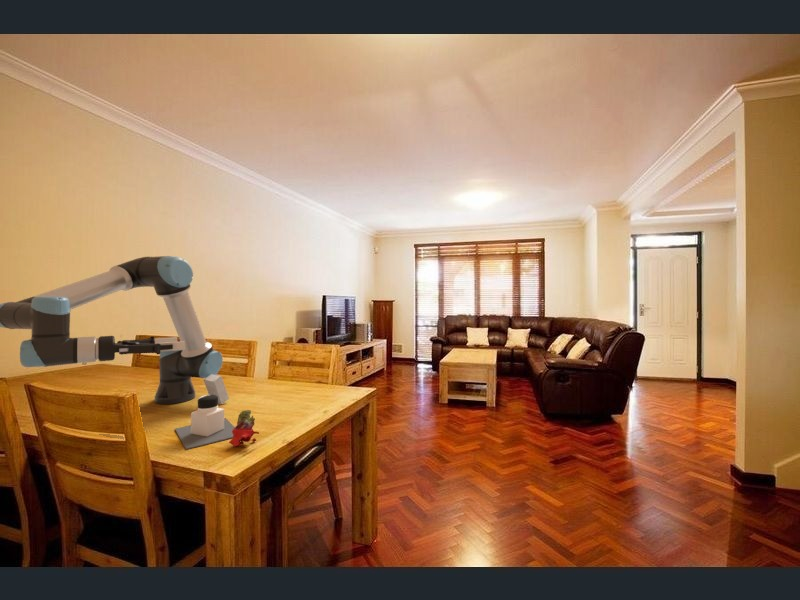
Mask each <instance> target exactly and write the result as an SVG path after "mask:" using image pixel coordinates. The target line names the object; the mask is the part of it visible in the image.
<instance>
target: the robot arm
mask: <svg viewBox="0 0 800 600" xmlns="http://www.w3.org/2000/svg"><path fill="white" fill-rule="evenodd" d="M193 277H194V272H193V268H192V266H191V265H190V263H189V262H188V261H187V260H185V259H183V258H182V257H179V256H173V255H164V256H142V257H138V258H135V259H132V260H129V261H125V262H122V263H121V264H117V265H113V266H112V267H111V268H109V270H108V271H105V272H102V273H100V274H97V275H94V276H90V277H88V278H84V279H81V280H78V281H75V282H72V283H70V284H66V285H63V286H60V287H58V288H55V289H52V290H49V291H46V292H43V293H40V294H37V295H34V296H32V297H27V298H24V299H21V300H19V301H15V302H14V301H7V302H2V303H0V328H4V329H9V330H31V338H30V339H26V340H23V341H22V342H21V343H20V347H19V350H20V351H19V361H20V364H21V366H22V367H24V368H35V367H36V368H38V367H39V368H40V367H44V368H45V367H46V368H47V367H53V366H55V367H56V366H63V365H73V364H82V365H83V366H85V365H87V363H94V362H96V361H97V360H98V361H99V362H108V361H109V362H110V361H114V360H115V358H116V353H118V354H119V355H120V356H121V355H134V354H135V355H136V354H156V355H159V358H158V360H159V383H158V386H157V390H156V392H155V395H154V403H155V404H159V405H171V404H179V403H184V402H189V401H192V399H195V398H196V390H195V388H194V385H193V382H192V378H198V379H205V378H206V377H208V376H209V375H211V374H213V375H218V374H219V372H220V370H221V368H222V366H223V363H224V362H223V360H224V358H223V354H222V353H221V352H220V351H217V350H215V349H214V348H213V344H212V343H211V342H209V341H207V340H206V338H205V335H204V332H203V330H202V327H201V324H200V321H199V319H198V315H197V312H196V311H195V310H196V309H195V308H194V307H195V306H194V305H193V302H192V299H191V296H190V294H189V290H190V289H191V283H192V282H193ZM141 287H142V288H144V287H147V288H149V287H151V288H152V287H153V288H154V291H155V294H156V295H157V296H158V297H161V298H162V300H164V303H165V306H166V309H167V311H168V313H169V316H170V318H171V321H172V323H173V326H174V329H175V332H176V334H177V336H175V337H173V336H172V337H158V338H157V337H156V338H155V336H150V337H148V338H140V339H139V338H138V339H131V340H129V339H124V340H118V341H117V342H116V339H115V336H114V335H104V336H103V335H100V336H98V338H97V337H96V336H80V337H79V336H78V337H70V335H71V332H70V327H71V325H70V324H71V311H72V310H73V309H76V308H78V307H82V306H83V305H87V304H88V303H91V302H94V301H97V300H99V299H101V298H104V297H106V296H109V295H112V294H114V293H117V292H119V291H124V292H125V291H126V292H127V291H130V290H133V289H137V288H141ZM178 339H179V341H178Z"/></svg>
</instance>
